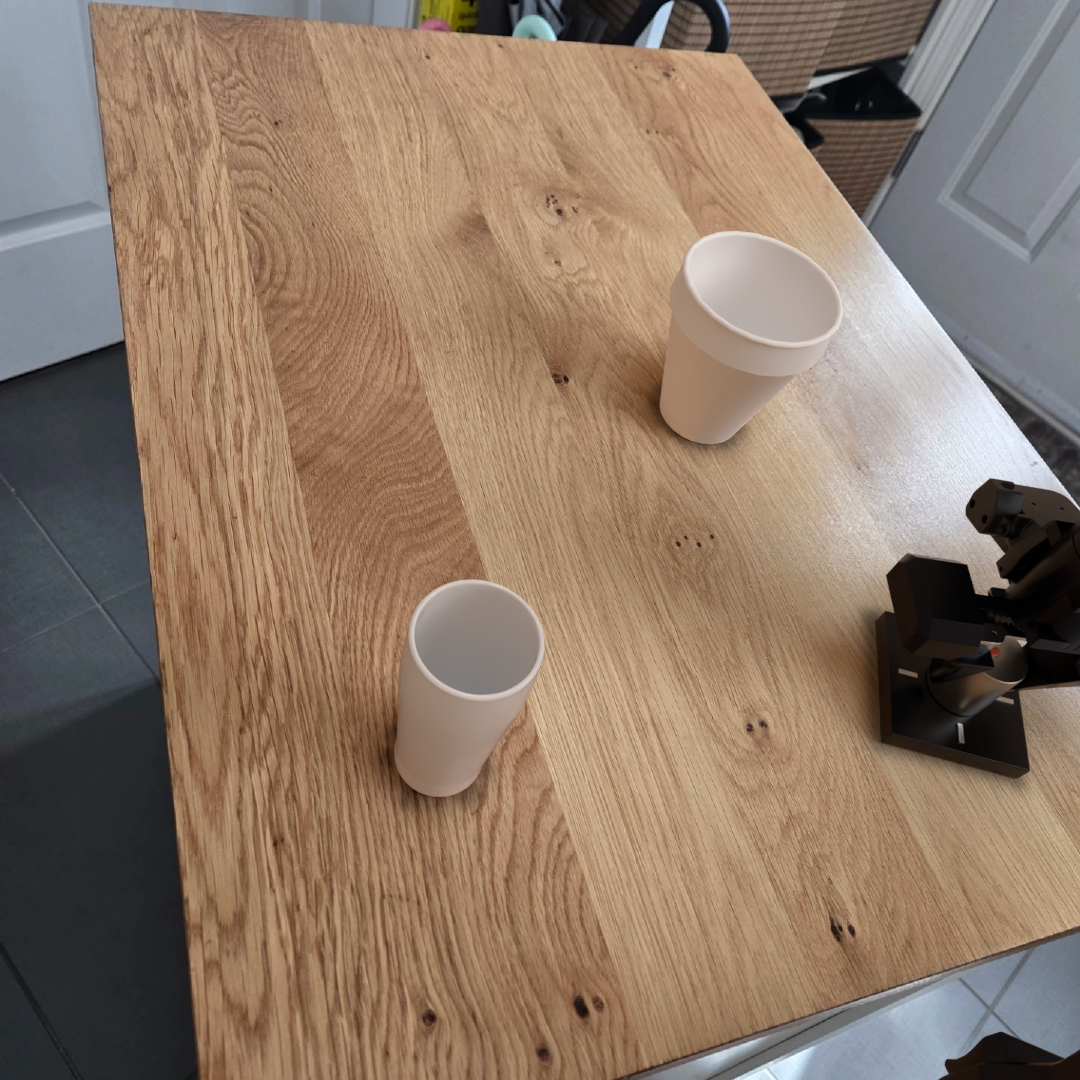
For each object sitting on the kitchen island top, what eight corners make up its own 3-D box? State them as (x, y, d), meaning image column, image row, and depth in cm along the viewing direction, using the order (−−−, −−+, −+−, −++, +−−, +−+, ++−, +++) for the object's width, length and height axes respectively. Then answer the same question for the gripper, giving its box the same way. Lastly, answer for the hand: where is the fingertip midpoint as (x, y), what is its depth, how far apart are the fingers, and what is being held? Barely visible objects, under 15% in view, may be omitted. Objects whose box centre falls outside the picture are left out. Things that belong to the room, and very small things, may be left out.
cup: (666, 338, 84) (723, 207, 74) (789, 408, 83) (866, 284, 72) (601, 417, 77) (654, 284, 66) (734, 496, 75) (811, 373, 65)
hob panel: (1017, 779, 66) (1032, 770, 65) (880, 742, 65) (892, 732, 64) (1000, 655, 72) (1014, 644, 71) (875, 620, 71) (886, 608, 70)
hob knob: (977, 663, 69) (1022, 627, 65) (991, 720, 66) (1039, 685, 62) (921, 654, 68) (962, 617, 64) (932, 711, 66) (977, 676, 62)
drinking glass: (357, 772, 56) (378, 651, 44) (420, 686, 60) (454, 553, 48) (455, 835, 56) (503, 728, 44) (513, 743, 60) (571, 622, 48)
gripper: (1209, 471, 60) (1051, 600, 73) (937, 423, 57) (821, 566, 70) (1285, 625, 54) (1097, 738, 66) (983, 579, 51) (845, 706, 63)
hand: (963, 681), depth 67 cm, fingers closed on hob knob, 4 cm apart
